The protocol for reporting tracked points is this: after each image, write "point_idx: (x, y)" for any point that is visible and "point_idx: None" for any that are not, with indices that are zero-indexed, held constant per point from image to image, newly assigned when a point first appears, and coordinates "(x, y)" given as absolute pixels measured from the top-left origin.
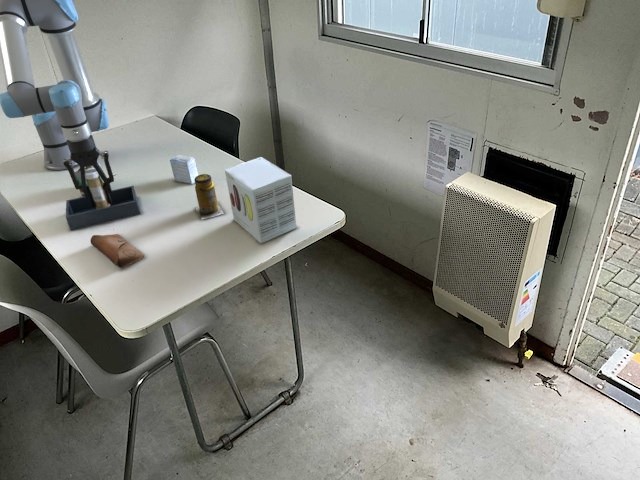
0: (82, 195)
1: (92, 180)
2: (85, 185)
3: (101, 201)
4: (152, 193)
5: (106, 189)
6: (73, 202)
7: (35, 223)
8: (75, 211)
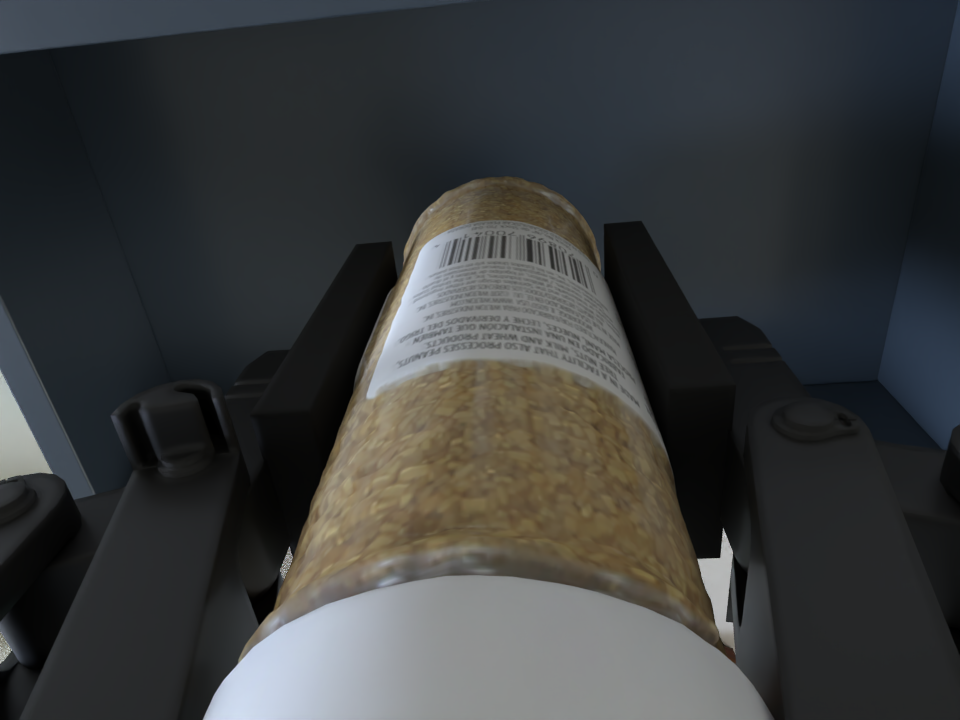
0: (732, 654)
1: (492, 532)
2: (768, 477)
3: (477, 221)
4: (29, 467)
5: (291, 364)
6: None
7: None
8: (851, 383)
